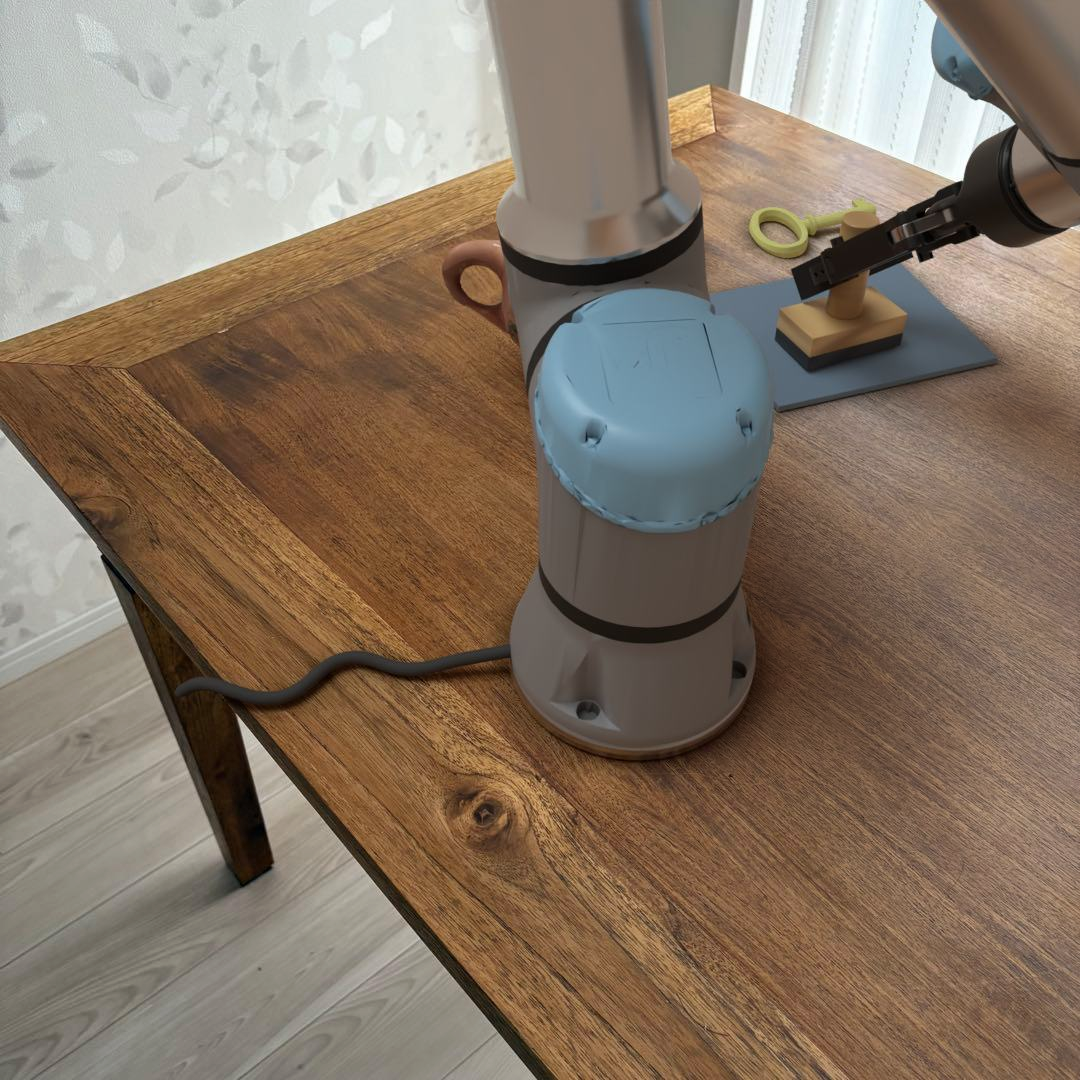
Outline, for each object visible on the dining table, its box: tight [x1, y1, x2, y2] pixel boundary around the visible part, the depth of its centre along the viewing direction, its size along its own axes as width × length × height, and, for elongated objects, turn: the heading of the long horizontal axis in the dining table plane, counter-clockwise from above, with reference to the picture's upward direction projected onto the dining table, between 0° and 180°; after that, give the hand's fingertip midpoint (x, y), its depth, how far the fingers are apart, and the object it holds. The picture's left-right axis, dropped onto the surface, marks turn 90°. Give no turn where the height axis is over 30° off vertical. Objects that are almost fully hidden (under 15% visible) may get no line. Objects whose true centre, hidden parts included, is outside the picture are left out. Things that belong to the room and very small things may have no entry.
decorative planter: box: [441, 239, 520, 349], centre depth 85 cm, size 20×12×14 cm, turn 86°
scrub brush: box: [775, 211, 908, 370], centre depth 88 cm, size 9×5×11 cm, turn 113°
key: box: [748, 197, 877, 259], centre depth 105 cm, size 7×12×2 cm, turn 123°
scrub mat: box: [709, 262, 999, 413], centre depth 94 cm, size 20×16×1 cm
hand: (826, 274), depth 92 cm, fingers open, 5 cm apart
